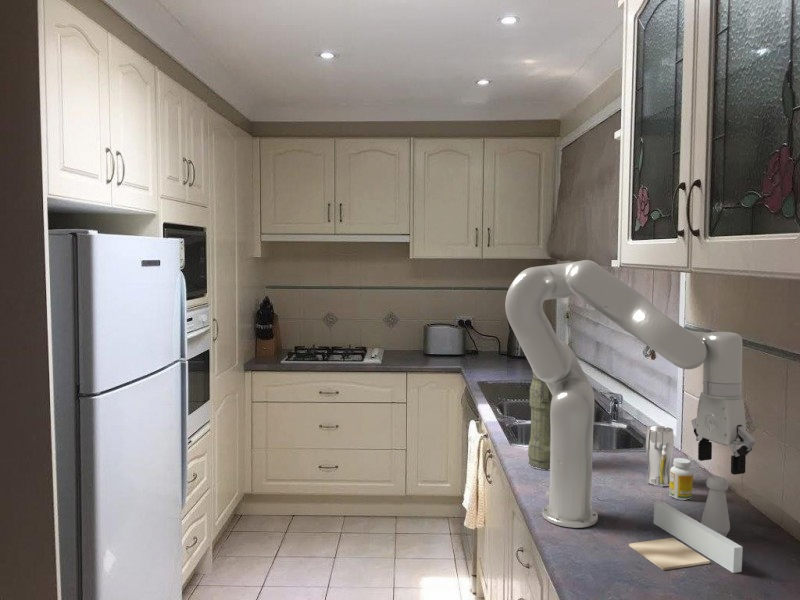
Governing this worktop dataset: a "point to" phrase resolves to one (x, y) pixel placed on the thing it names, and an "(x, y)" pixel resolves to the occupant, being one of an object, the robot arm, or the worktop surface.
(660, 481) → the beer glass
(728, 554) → the acrylic wall
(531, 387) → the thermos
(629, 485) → the worktop surface
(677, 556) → the coaster board
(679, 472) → the supplement bottle
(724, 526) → the salt shaker
